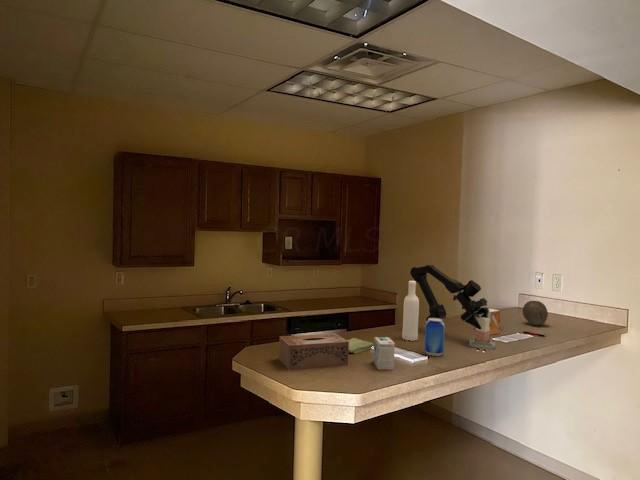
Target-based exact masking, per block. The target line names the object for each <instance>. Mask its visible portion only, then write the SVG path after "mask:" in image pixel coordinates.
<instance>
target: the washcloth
mask: <svg viewBox="0 0 640 480" xmlns="http://www.w3.org/2000/svg"><path fill="white" fill-rule="evenodd" d="M346 340H347V341H349V352H348V354H353V355H357V354H360V353H362V352H366V351H368V350H370V348H371V347H372V346H373V347H374V342H373V343H372V342H371V341H366V340H362V339H359V338H356V337H352V338H351V339H346ZM371 349H372V348H371Z"/></svg>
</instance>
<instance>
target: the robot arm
mask: <svg viewBox="0 0 640 480" xmlns="http://www.w3.org/2000/svg"><path fill="white" fill-rule="evenodd" d="M409 273H410V276H411V277H412V280H413V281H416V283H418V286H419V288H420V290H421V291H422V294H423V296H424V299H425V300H426V302H427V304H428V306H429V308H428V309H429V310H428V311H429V315H428V316H427V317H426V319H425V320H426V322H427V321H428V318H439V319H442V320H443V322H444V320H445V319H446V317H447V310H446V308H445V306H444V304H440V303H439V302H438V300H437V299H436V296H435V295H434V292H433V291H432V288H431V286H430V285H429V282H428V279H427V278H428V277H427V276H428V275H427V274H429V275H431V276H432V277H433V278H435V279H436V280H438V281H439V282H440V283H441V284H442V285H444V287H445V289H446V290H447V291H448V292H449V293H450V294H455V295H453V297H452V300H453V301H458V302H459V304H460V306H462V307H461V309H462V310H465V312H463V313H462V314H461V315H460V319H461V321H462V322H464V323H467V324H469V325H471V326H473V327H475V328H476V329H477V328H478V329H481V326H480V325H479V323H478V321H477V318H479V317H485V318H488V313H489V309H490V308H488V307H487V306H488V304H487V303H488V300H487V299H486V298H485V297H483V298H480V299H478V300H477V301H476V300H475V299H474V300H473V299H472V298H474V297H475V296H476V295H477V294H478V293H479V292H480V291H481V290H482V287H481V286H480V284H479V283H477V282H475V281H474V280H473V279H472V280H469V281H468V282H467V284H463V283H462V282H461V281H458V280H457V279H454V278H451V277H449V276H448V275H447V274H445V273H444V272H443V271H441V270H440V269H438V268H437V267H435V265H433V264H427V265H423V266H413V267H412V268H411V269H410V271H409ZM471 297H472V298H471ZM490 326H491V325H490ZM490 326H489V327H490Z"/></svg>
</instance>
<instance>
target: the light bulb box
mask: <svg viewBox="0 0 640 480" xmlns="http://www.w3.org/2000/svg"><path fill="white" fill-rule="evenodd" d="M373 344H374V346H373V359H372V360H373V361H372V362H373V363H374V365H375V367H376V368H377V370H385V369H386V370H394V369H395V367H394V366H395V348H396V347H395V346H396V344H395V342H394V341H393V340H392V339H391V337H388V336H385V337H383V336H380V337H379V336H375V337H374V340H373ZM386 370H385V371H386Z"/></svg>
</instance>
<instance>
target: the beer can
mask: <svg viewBox="0 0 640 480" xmlns="http://www.w3.org/2000/svg"><path fill="white" fill-rule="evenodd" d="M445 328H446V326H445V323H444V321H443V320H442V319H439V318H428V321H427V320H426V322H425V332H424V333H425V335H424V336H425V337H424V352H425V353H426V355H428V356H431V355H432V357H439V356H442V355H443V353H444V347H445Z"/></svg>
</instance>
